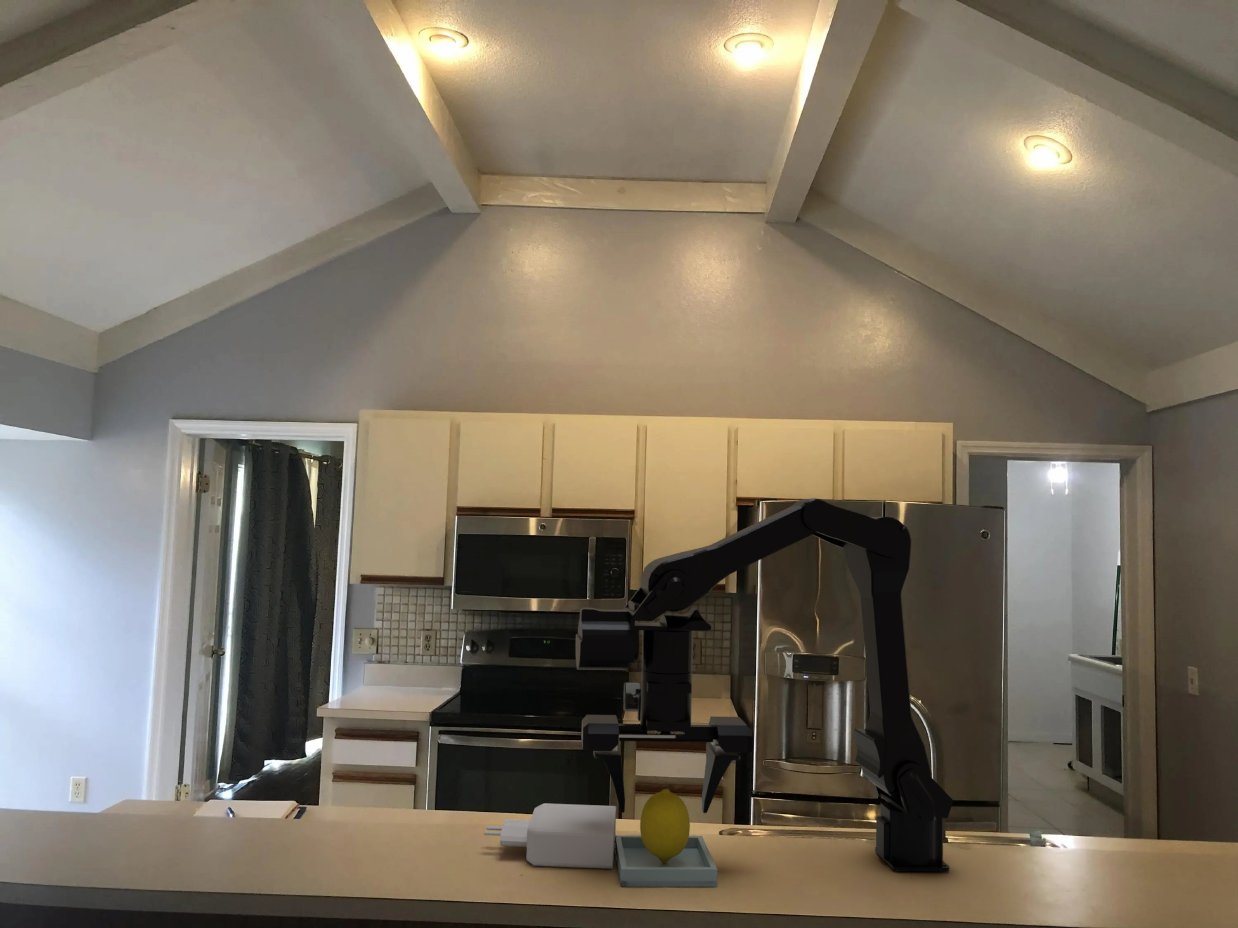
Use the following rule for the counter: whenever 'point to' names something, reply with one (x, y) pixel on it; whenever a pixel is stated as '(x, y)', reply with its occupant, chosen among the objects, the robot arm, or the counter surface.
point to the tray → (664, 865)
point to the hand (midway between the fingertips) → (663, 811)
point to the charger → (564, 835)
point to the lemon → (665, 825)
